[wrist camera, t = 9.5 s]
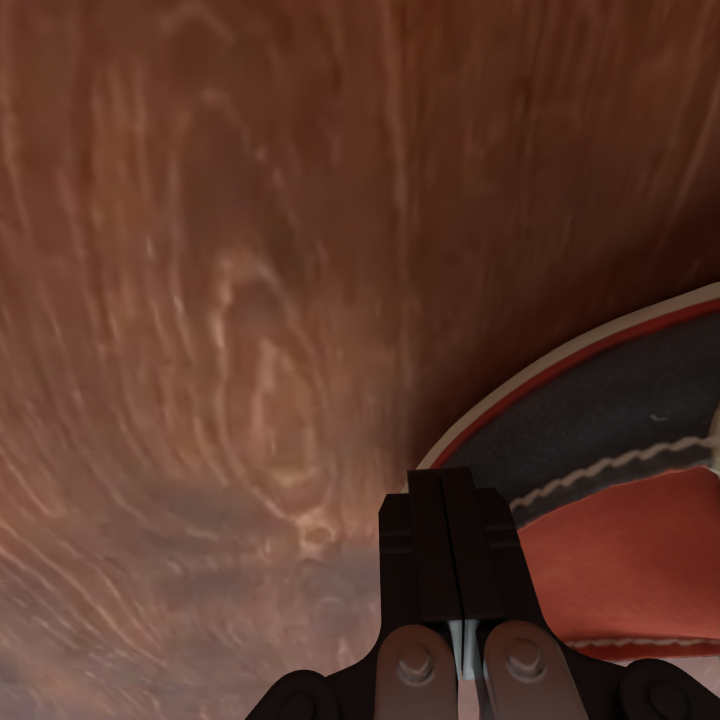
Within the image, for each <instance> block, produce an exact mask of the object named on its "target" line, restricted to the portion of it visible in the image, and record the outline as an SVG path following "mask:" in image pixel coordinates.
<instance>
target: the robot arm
mask: <svg viewBox="0 0 720 720" xmlns="http://www.w3.org/2000/svg"><path fill="white" fill-rule="evenodd" d="M407 481H408V493H400V494H387V495H386V497H385V499H384V502H383V504H382V506H381V508H380V511H379V513H378V516H379V551H380V586H381V629H380V634H379V637H378V639H377V642H376V643H375V645H374V647H373V648H372V650H371V651H370V652H369V653H368V654H367V655H366V656H365V657H364V658H363V659H362V660H361V661H359V662H358V663H356V664H354V665H352V666H350V667H348V668H345V669H343V670H341V671H338V672H336V673H334V674H331V675H329V676H327V677H324V676H323V675H321V674H319V673H317V672H315V671H311V670H297V671H293V672H291V673H288V674H286V675H285V676H283V677H281V678H280V679H279V680H278V681H276V682H275V683H274V685H273V686H272V687H271V688H270V689H269V690H268V692H267V693H266V694H265V695H264V696H263V698H262V699H261V700H260V701H259V703H258V704H257V705H256V706H255V708H254V709H253V710H252V711H251V712H250V714H249V715H248V716H247V717H246V719H245V720H458V680H460V677H461V670H462V676H463V680H473V679H475V684H476V690H477V695H478V701H479V707H480V708H479V720H720V698H718V697H717V696H716V695H714V694H713V693H712V692H711V691H709V690H708V689H707V688H705V687H704V686H703V685H702V684H700V683H699V682H698V681H696V680H695V679H694V678H693V677H691V676H690V675H689V674H687V673H686V672H685V671H683V670H682V669H680V668H679V667H677V666H675V665H673V664H671V663H668V662H666V661H663V660H659V659H652V658H645V659H639V660H636V661H634V662H632V663H630V664H629V665H628V666H627V667H623V666H620V665H616V664H613V663H610V662H606V661H603V660H600V659H596V658H593V657H589V656H587V655H584V654H581V653H579V652H577V651H575V650H573V649H572V648H570V647H569V646H567V645H566V644H564V643H563V642H562V641H561V640H560V639H559V638H558V637H557V636H556V635H555V634H554V633H553V632H552V630H551V629H550V628H549V626H548V625H547V623H546V621H545V619H544V617H543V614H542V611H541V608H540V605H539V601H538V598H537V595H536V592H535V588H534V585H533V582H532V579H531V575H530V572H529V569H528V565H527V562H526V559H525V556H524V552H523V549H522V548H521V543H520V539H519V536H518V533H517V530H516V528H515V523H514V520H513V516H512V513H511V510H510V506H509V504H508V503H507V502H506V501H505V500H504V498H503V497H502V496H501V495H500V494H499V492H498V491H497V490H496V489H495V488H479V489H475V485H474V481H473V477H472V473H471V469H470V467H469V466H461V467H445V468H438V471H437V468H432V469H416V470H407Z"/></svg>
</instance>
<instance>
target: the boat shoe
mask: <svg viewBox="0 0 720 720" xmlns="http://www.w3.org/2000/svg"><path fill="white" fill-rule="evenodd" d="M461 466H469V467H470V469H471V473H472V477H473V481H474V485H475V489H479V488H495V489H496V490H497V491H498V492H499V494H500V495H501V496H502V497H503V498H504V500H505V501H506V502H507V503H508V504H509V506H510V510H511V513H512V516H513V520H514V523H515V528H516V530H517V533H518V536H519V539H520V543H521V548H522V549H523V552H524V556H525V559H526V562H527V565H528V569H529V572H530V575H531V579H532V582H533V585H534V588H535V592H536V595H537V598H538V601H539V605H540V608H541V611H542V614H543V617H544V619H545V621H546V623H547V625H548V626H549V628H550V629H551V630H552V632H553V633H554V634H555V635H556V636H557V637H558V638H559V639H560V640H561V641H562V642H563V643H564V644H566V645H567V646H569V647H570V648H572V649H573V650H575V651H577V652H579V653H581V654H584V655H587V656H589V657H593V658H596V659H600V660H603V661H606V662H610V663H619V662H627V661H636V660H639V659H645V658H652V659H663V658H691V657H712V656H720V282H717V283H713V284H710V285H707V286H704V287H701V288H699V289H696V290H693V291H690V292H688V293H685V294H682V295H679V296H677V297H674V298H671V299H668V300H665V301H662V302H659V303H657V304H654V305H651V306H648V307H645V308H642V309H640V310H637V311H635V312H632V313H629V314H627V315H624V316H622V317H619V318H617V319H614V320H612V321H610V322H607V323H605V324H603V325H601V326H599V327H597V328H594V329H592V330H590V331H588V332H586V333H584V334H581V335H579V336H578V337H576V338H574V339H572V340H570V341H568V342H566V343H564V344H563V345H561V346H559V347H557V348H556V349H554V350H552V351H551V352H549V353H548V354H546V355H544V356H543V357H541V358H539V359H538V360H536V361H535V362H533V363H532V364H530V365H529V366H527V367H526V368H524V369H523V370H522V371H520V372H519V373H517V374H516V375H515V376H513V377H512V378H510V379H509V380H508V381H506V382H505V383H504V384H502V385H501V386H499V387H498V388H497V389H495V390H494V391H493V392H492V393H490V394H489V395H488V396H486V397H485V398H484V399H483V400H481V401H480V402H479V403H478V404H476V405H475V406H474V407H473V408H471V409H470V410H469V411H468V412H467V413H466V414H465V415H464V416H463V417H462V418H460V419H459V420H458V421H457V422H456V423H455V424H454V425H453V426H452V427H451V428H450V429H449V430H448V431H447V432H446V433H445V434H444V435H443V436H442V437H441V439H440V440H439V441H438V442H437V443H436V444H435V445H434V446H433V447H432V448H431V450H430V451H429V452H428V454H427V455H426V456H425V457H424V459H423V460H422V461H421V463H420V464H419V465H418V467H417V468H416V469H432V468H437V471H438V468H445V467H461ZM416 469H415V470H416ZM401 493H408V481H407V482H406V484H405V486H404V487H403V489H402V491H401Z"/></svg>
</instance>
